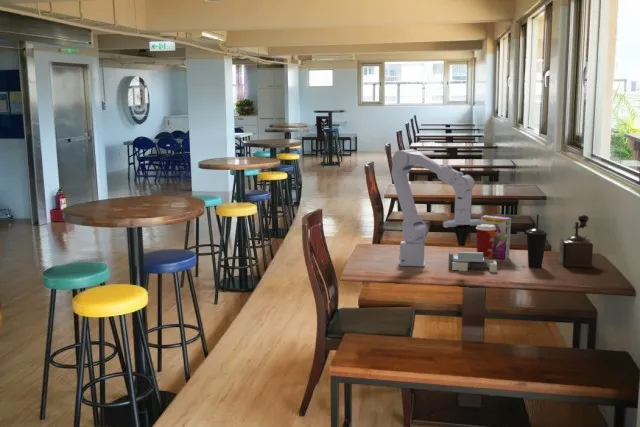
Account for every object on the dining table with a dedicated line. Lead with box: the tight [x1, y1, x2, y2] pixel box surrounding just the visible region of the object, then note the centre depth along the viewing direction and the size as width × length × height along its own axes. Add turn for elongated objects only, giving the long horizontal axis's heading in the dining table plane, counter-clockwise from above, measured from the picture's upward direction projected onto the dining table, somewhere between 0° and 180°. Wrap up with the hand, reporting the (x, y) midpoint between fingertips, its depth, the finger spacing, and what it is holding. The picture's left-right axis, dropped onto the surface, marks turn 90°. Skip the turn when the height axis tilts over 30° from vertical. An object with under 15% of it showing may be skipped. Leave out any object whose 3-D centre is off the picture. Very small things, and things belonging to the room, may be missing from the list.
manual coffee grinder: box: [558, 214, 594, 269], centre depth 257 cm, size 16×11×18 cm
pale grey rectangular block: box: [447, 252, 498, 273], centre depth 250 cm, size 17×8×6 cm, turn 81°
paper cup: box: [475, 224, 496, 260], centre depth 262 cm, size 8×8×14 cm
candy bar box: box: [480, 214, 512, 261], centre depth 266 cm, size 11×5×16 cm, turn 56°
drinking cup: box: [525, 214, 548, 269], centre depth 251 cm, size 8×8×20 cm
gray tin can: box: [469, 261, 488, 270], centre depth 250 cm, size 6×3×3 cm
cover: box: [453, 251, 484, 262], centre depth 249 cm, size 11×5×3 cm, turn 83°
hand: (461, 245), depth 244 cm, fingers closed
